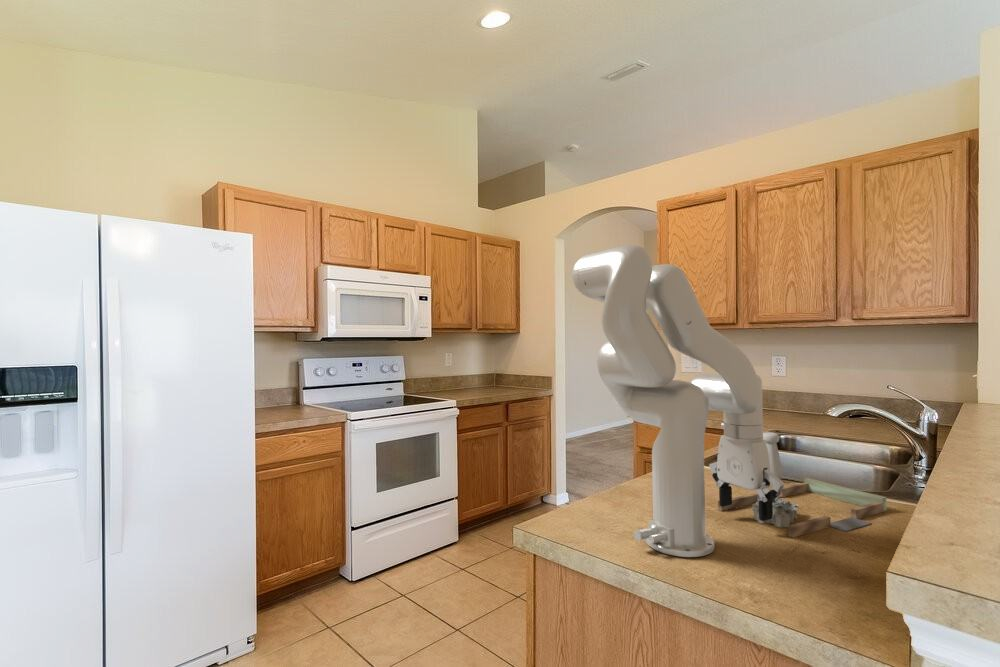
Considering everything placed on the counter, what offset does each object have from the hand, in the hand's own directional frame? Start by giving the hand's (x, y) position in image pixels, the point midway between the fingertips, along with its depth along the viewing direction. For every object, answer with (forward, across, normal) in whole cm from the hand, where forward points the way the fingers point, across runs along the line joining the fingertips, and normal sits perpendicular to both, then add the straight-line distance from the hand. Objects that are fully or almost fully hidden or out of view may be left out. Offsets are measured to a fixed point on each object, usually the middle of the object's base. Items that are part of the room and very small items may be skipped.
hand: (744, 512), depth 106 cm
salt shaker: (+3, -19, +34) cm, 39 cm away
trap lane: (+3, 0, +18) cm, 18 cm away
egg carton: (+3, 0, +9) cm, 10 cm away
